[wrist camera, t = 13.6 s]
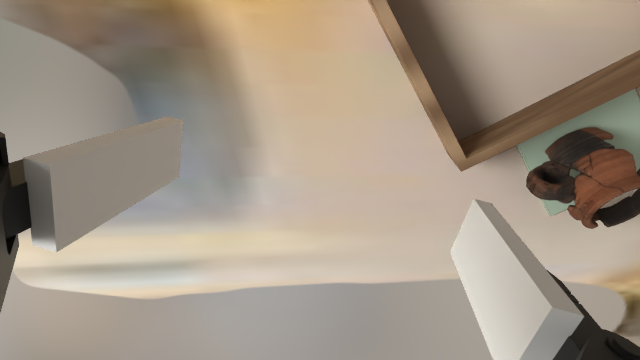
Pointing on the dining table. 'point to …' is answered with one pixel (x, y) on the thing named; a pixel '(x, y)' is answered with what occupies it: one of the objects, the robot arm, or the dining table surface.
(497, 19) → the dining table surface
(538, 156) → the mat
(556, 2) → the dining table surface
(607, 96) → the crate
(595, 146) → the brown hollow vessel
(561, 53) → the dining table surface
